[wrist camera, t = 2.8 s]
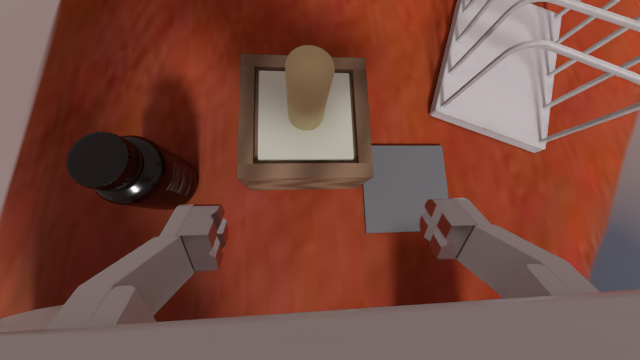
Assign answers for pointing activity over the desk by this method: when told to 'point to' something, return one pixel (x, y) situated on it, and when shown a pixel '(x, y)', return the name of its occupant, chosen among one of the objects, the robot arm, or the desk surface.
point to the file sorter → (517, 68)
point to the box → (301, 172)
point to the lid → (305, 110)
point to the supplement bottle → (131, 171)
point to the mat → (402, 187)
